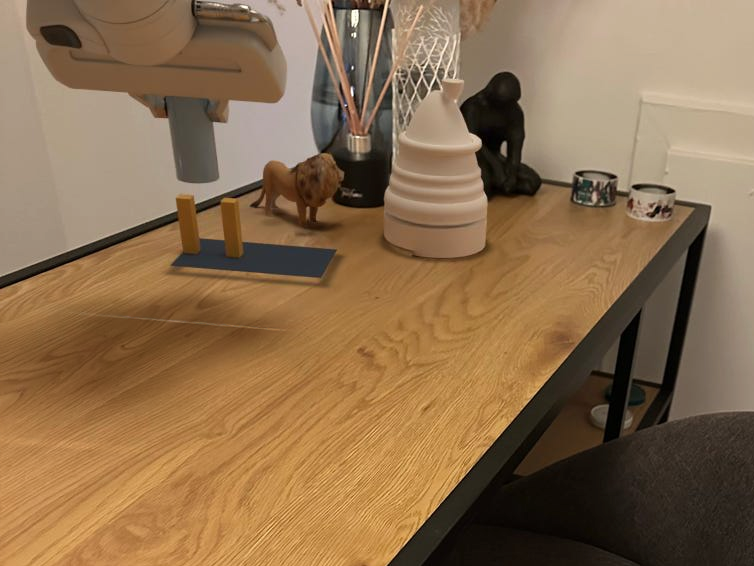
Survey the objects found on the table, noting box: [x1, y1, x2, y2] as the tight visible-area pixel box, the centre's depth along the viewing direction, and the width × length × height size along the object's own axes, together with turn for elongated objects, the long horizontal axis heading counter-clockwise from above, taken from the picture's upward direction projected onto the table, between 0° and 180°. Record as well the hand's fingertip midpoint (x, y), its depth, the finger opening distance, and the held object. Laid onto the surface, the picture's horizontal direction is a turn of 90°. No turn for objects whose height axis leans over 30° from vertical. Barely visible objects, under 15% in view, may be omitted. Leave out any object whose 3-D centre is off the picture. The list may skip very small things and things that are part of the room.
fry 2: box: [219, 197, 243, 258], centre depth 106 cm, size 2×2×6 cm
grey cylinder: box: [165, 95, 220, 185], centre depth 87 cm, size 4×4×10 cm
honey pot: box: [383, 77, 489, 259], centre depth 113 cm, size 13×13×18 cm
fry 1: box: [175, 193, 201, 254], centre depth 106 cm, size 2×2×6 cm
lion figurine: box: [249, 152, 345, 228], centre depth 118 cm, size 15×5×9 cm, turn 59°
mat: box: [170, 237, 338, 279], centre depth 108 cm, size 17×10×1 cm, turn 86°
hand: (192, 113), depth 87 cm, fingers closed on grey cylinder, 4 cm apart
